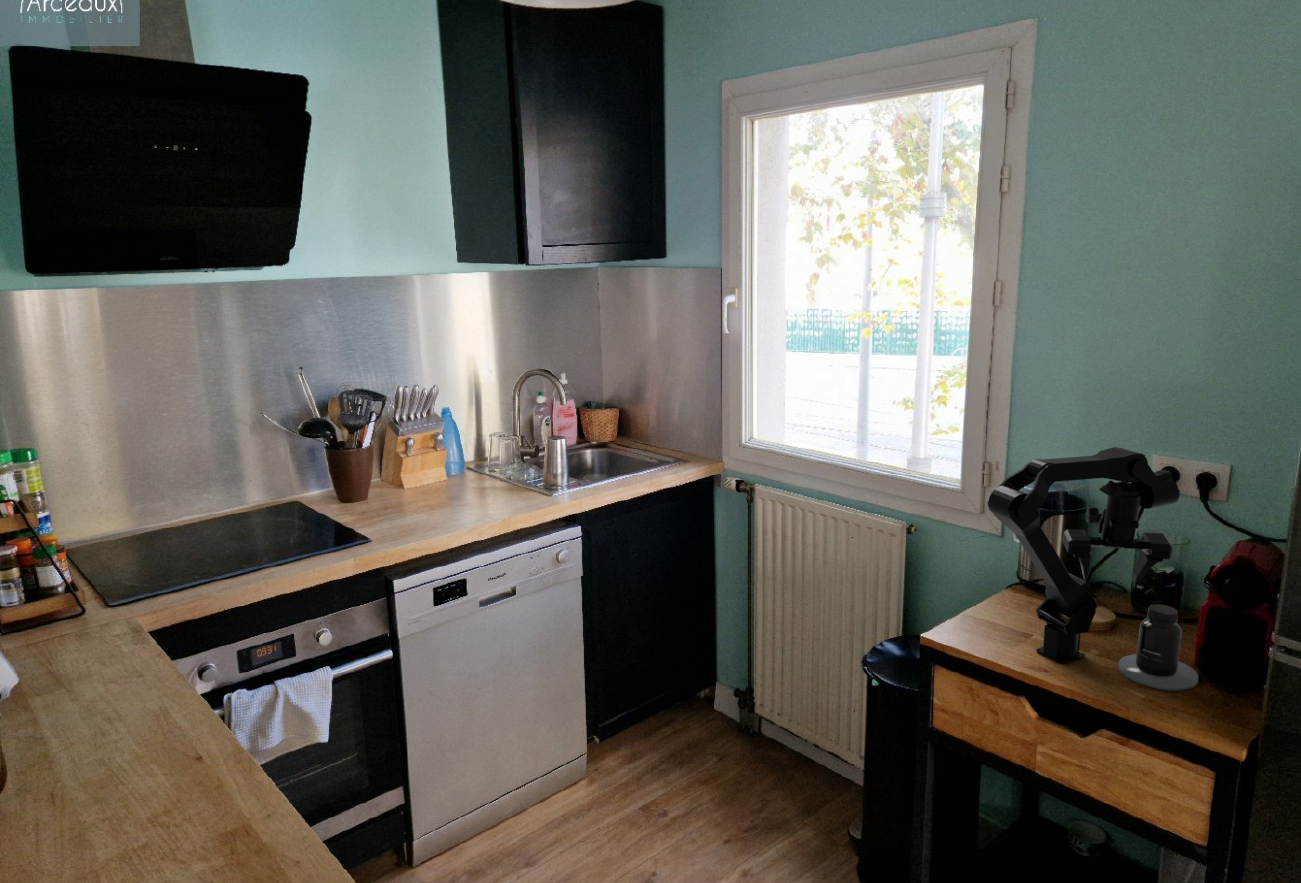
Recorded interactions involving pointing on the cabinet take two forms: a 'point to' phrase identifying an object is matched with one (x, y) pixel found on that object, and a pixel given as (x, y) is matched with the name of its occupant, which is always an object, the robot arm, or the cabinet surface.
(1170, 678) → the disc
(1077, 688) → the cabinet surface
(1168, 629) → the supplement bottle
